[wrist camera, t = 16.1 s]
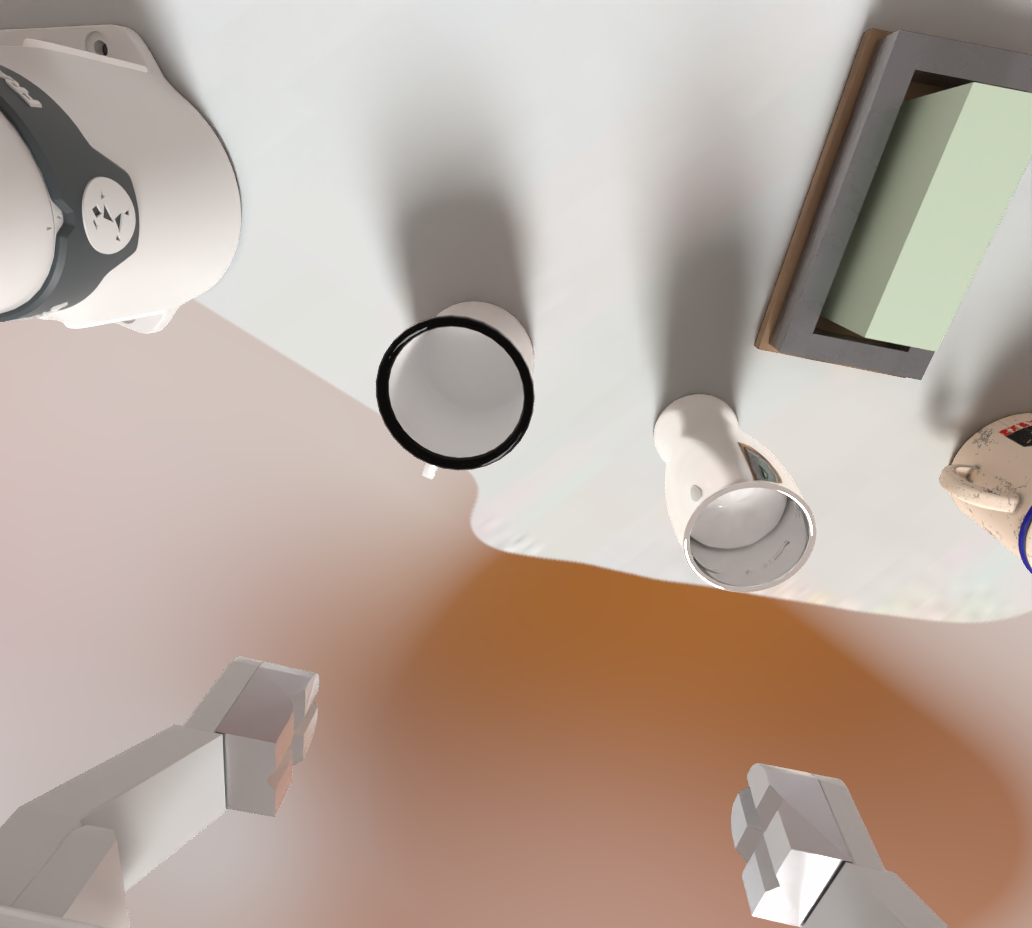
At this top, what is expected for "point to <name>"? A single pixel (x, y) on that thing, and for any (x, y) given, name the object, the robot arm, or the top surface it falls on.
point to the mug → (458, 387)
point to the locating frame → (846, 180)
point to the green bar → (931, 213)
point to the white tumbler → (730, 498)
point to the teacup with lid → (997, 482)
